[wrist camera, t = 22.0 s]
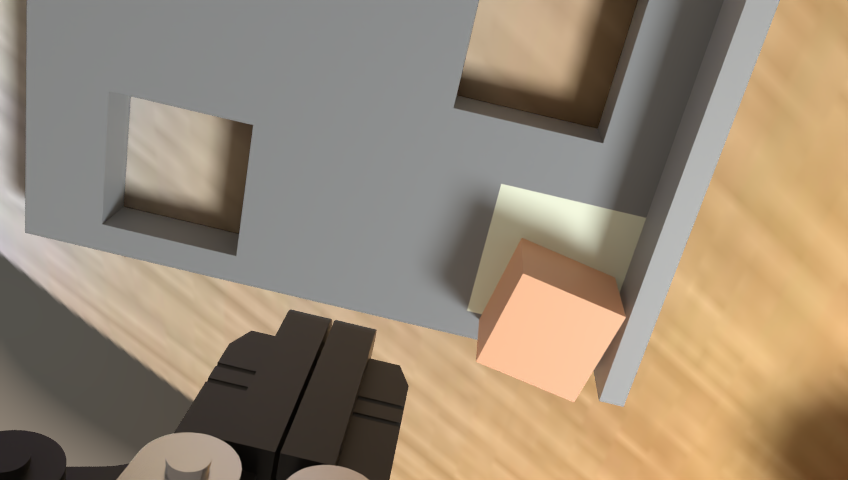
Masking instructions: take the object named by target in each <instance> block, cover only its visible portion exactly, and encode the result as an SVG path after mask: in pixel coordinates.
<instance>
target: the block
mask: <svg viewBox="0 0 848 480" xmlns="http://www.w3.org/2000/svg"><path fill="white" fill-rule="evenodd" d="M625 318H626V315H625V312H624V308H623V304H622V301H621V297H620V294H619V290H618V286H617V283H616V279H615V277H612V276H610V275H608V274H605V273H603V272H601V271H598V270H596V269H594V268H591V267H589V266H587V265H584V264H582V263H580V262H578V261H575V260H573V259H571V258H568V257H566V256H564V255H561V254H559V253H557V252H554V251H552V250H550V249H547V248H545V247H543V246H540V245H538V244H536V243H533V242H531V241H529V240H526V239H524V238H521V240H520V242H519V244H518V246H517V248H516V250H515V252H514V253H513V255H512V257H511V259H510V261H509V263H508V265H507V267H506V269H505V271H504V273H503V275H502V277H501V278H500V280H499V282H498V284H497V286H496V288H495V290H494V292H493V294H492V296H491V298H490V300H489V302H488V303H487V305H486V307H485V309H484V311H483V313H482V315H481V317H480V319H479V328H478V342H477V356H476V362H478V363H480V364H483V365H485V366H488V367H490V368H493V369H495V370H497V371H500V372H502V373H505V374H507V375H509V376H512V377H514V378H517V379H519V380H521V381H524V382H526V383H529V384H531V385H533V386H536V387H538V388H541V389H543V390H546V391H548V392H550V393H553V394H555V395H558V396H560V397H562V398H565V399H567V400H570V401H572V402H575V400H576V398H577V397H578V395H579V393H580V392H581V390H582V388H583V387H584V385H585V384H586V382H587V380H588V379H589V377H590V375H591V374H592V372H593V371H594V369H595V367H596V366H597V364H598V362H599V361H600V359H601V357H602V356H603V354H604V353H605V351H606V349H607V348H608V346H609V344H610V343H611V341H612V339H613V338H614V336H615V335H616V333H617V331H618V330H619V328H620V326H621V325H622V323H623V321H624V320H625Z"/></svg>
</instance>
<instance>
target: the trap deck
mask: <svg viewBox="0 0 848 480" xmlns="http://www.w3.org/2000/svg"><path fill="white" fill-rule="evenodd" d="M779 1H780V0H638V2H637V5H636V8H635V11H634V14H633V18H632V21H631V24H630V27H629V30H628V34H627V37H626V40H625V43H624V46H623V50H622V53H621V56H620V59H619V62H618V66H617V69H616V72H615V75H614V78H613V81H612V85H611V88H610V91H609V94H608V97H607V101H606V104H605V107H604V110H603V113H602V117H601V120H600V123H599V126H598V129H597V128H593V127H589V126H584V125H580V124H576V123H572V122H567V121H563V120H559V119H555V118H550V117H546V116H542V115H538V114H533V113H529V112H525V111H521V110H516V109H512V108H508V107H504V106H499V105H495V104H491V103H487V102H483V101H478V100H474V99H470V98H466V97H461V96H457V92H458V88H459V84H460V79H461V75H462V71H463V67H464V62H465V58H466V54H467V50H468V45H469V41H470V37H471V32H472V28H473V24H474V20H475V15H476V11H477V7H478V3H479V0H27V48H26V180H25V233H29V234H33V235H37V236H41V237H46V238H50V239H54V240H58V241H63V242H67V243H71V244H75V245H79V246H84V247H88V248H92V249H96V250H101V251H105V252H109V253H113V254H117V255H122V256H126V257H130V258H134V259H139V260H143V261H147V262H151V263H155V264H160V265H164V266H168V267H172V268H177V269H181V270H185V271H189V272H193V273H198V274H202V275H206V276H210V277H215V278H219V279H223V280H227V281H231V282H236V283H240V284H244V285H248V286H253V287H257V288H261V289H265V290H269V291H274V292H278V293H282V294H286V295H291V296H295V297H299V298H303V299H307V300H312V301H316V302H320V303H324V304H329V305H333V306H337V307H341V308H345V309H350V310H354V311H358V312H362V313H367V314H371V315H375V316H379V317H383V318H388V319H392V320H396V321H400V322H405V323H409V324H413V325H417V326H421V327H426V328H430V329H434V330H438V331H443V332H447V333H451V334H455V335H459V336H464V337H468V338H472V339H476V340H478V328H479V319H480V317H481V315H482V313H483V311H484V309H485V307H486V305H487V303H488V302H489V300H490V298H491V296H492V294H493V292H494V290H495V288H496V286H497V284H498V282H499V280H500V278H501V277H502V275H503V273H504V271H505V269H506V267H507V265H508V263H509V261H510V259H511V257H512V255H513V253H514V252H515V250H516V248H517V246H518V244H519V242H520V240H521V238H524V239H526V240H529V241H531V242H533V243H536V244H538V245H540V246H543V247H545V248H547V249H550V250H552V251H554V252H557V253H559V254H561V255H564V256H566V257H568V258H571V259H573V260H575V261H578V262H580V263H582V264H584V265H587V266H589V267H591V268H594V269H596V270H598V271H601V272H603V273H605V274H608V275H610V276H612V277H615V279H616V283H617V286H618V290H619V294H620V297H621V301H622V304H623V308H624V312H625V315H626V318H625V320H624V321H623V323H622V325H621V326H620V328H619V330H618V331H617V333H616V335H615V336H614V338H613V339H612V341H611V343H610V344H609V346H608V348H607V349H606V351H605V353H604V354H603V356H602V357H601V359H600V361H599V362H598V364H597V366H596V367H595V369H594V375H595V381H596V387H597V392H598V398H599V401H601V402H606V403H610V404H614V405H618V406H623V407H624V404H625V401H626V399H627V396H628V394H629V391H630V388H631V386H632V383H633V381H634V378H635V375H636V373H637V370H638V368H639V365H640V362H641V360H642V357H643V355H644V352H645V349H646V347H647V344H648V342H649V339H650V336H651V334H652V331H653V329H654V326H655V323H656V321H657V318H658V316H659V313H660V310H661V308H662V305H663V303H664V300H665V297H666V295H667V292H668V290H669V287H670V284H671V282H672V279H673V277H674V274H675V271H676V269H677V266H678V264H679V261H680V258H681V256H682V253H683V251H684V248H685V245H686V243H687V240H688V238H689V235H690V232H691V230H692V227H693V225H694V222H695V219H696V217H697V214H698V212H699V209H700V206H701V204H702V201H703V199H704V196H705V193H706V191H707V188H708V186H709V183H710V180H711V178H712V175H713V173H714V170H715V167H716V165H717V162H718V160H719V157H720V154H721V152H722V149H723V147H724V144H725V141H726V139H727V136H728V134H729V131H730V128H731V126H732V123H733V121H734V118H735V115H736V113H737V110H738V108H739V105H740V102H741V100H742V97H743V95H744V92H745V89H746V87H747V84H748V82H749V79H750V77H751V74H752V71H753V69H754V66H755V64H756V61H757V58H758V56H759V53H760V51H761V48H762V45H763V43H764V40H765V38H766V35H767V32H768V30H769V27H770V25H771V22H772V19H773V17H774V14H775V12H776V9H777V6H778V4H779ZM131 96H132V97H136V98H140V99H145V100H149V101H153V102H157V103H162V104H166V105H170V106H174V107H178V108H183V109H187V110H191V111H195V112H200V113H204V114H208V115H212V116H217V117H221V118H225V119H229V120H234V121H238V122H242V123H246V124H251V125H253V131H252V139H251V146H250V154H249V162H248V170H247V177H246V185H245V193H244V201H243V208H242V216H241V224H240V232H239V234H237V233H233V232H228V231H224V230H220V229H216V228H211V227H207V226H203V225H199V224H194V223H190V222H186V221H182V220H178V219H173V218H169V217H165V216H161V215H156V214H152V213H148V212H144V211H140V210H135V209H131V208H127V207H124V193H125V177H126V161H127V145H128V129H129V113H130V97H131Z"/></svg>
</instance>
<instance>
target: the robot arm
mask: <svg viewBox="0 0 848 480" xmlns="http://www.w3.org/2000/svg"><path fill="white" fill-rule="evenodd" d="M376 331H377V330H375V329H371V328H367V327H363V326H359V325H354V324H350V323H346V322H342V321H337V320H335V321H334V323H333V325H332V319H328V318H324V317H320V316H316V315H311V314H307V313H303V312H299V311H294V310H289V311H288V313H287V315H286V317H285V319H284V321H283V322H282V324H281V326H280V328H279V330H278V332H277V334H276V336H272V335H268V334H264V333H259V332H255V331H250V332H249V333H247V334H245V335H243V336H242V337H240V338H238V339H237V340H235V341H233V342H232V343H230V344H229V345H228V347H227V349H226V350H225V352H224V353H223V355H222V357H221V358H220V360H219V361H218V364H217V366H215V368H214V369H213V371H212V373H211V374H210V376H209V378H208V381H207V382H205V384H204V386H203V387H202V389H201V390H200V392H199V394H198V395H197V397H196V398H195V400H194V402H193V403H192V405H191V407H190V408H189V410H188V411H187V413H186V415H185V416H184V418H183V419H182V421H181V423H180V424H179V426H178V428H177V429H176V431H175V432H174V434H170V435H166V436H163V437H160V438H158V439H155V440H154V441H152V442H150V443H148V444H147V445H146V446H144V447H143V448H142V449H141V450H140V451H139V452H138V454H137V455H136V456H135V457H134V458H133V460H132V461H131V462H130V463H129V464H124V465H118V466H107V467H66V456H65V453H64V451H63V449H62V448H61V446H60V445H59V444H58V443H57V442H55V441H54V440H52V439H51V438H49V437H47V436H44V435H42V434H39V433H35V432H30V431H22V430H9V431H0V480H389V479H390V474H391V469H392V464H393V459H394V454H395V449H396V445H397V440H398V435H399V430H400V425H401V420H402V415H403V410H404V406H405V401H406V396H407V391H408V384H407V381H406V379H405V377H404V374H403V372H402V370H401V367H400V366H399V365H395V364H391V363H387V362H383V361H378V360H374V359H371V355H372V351H373V346H374V342H375V337H376Z"/></svg>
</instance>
